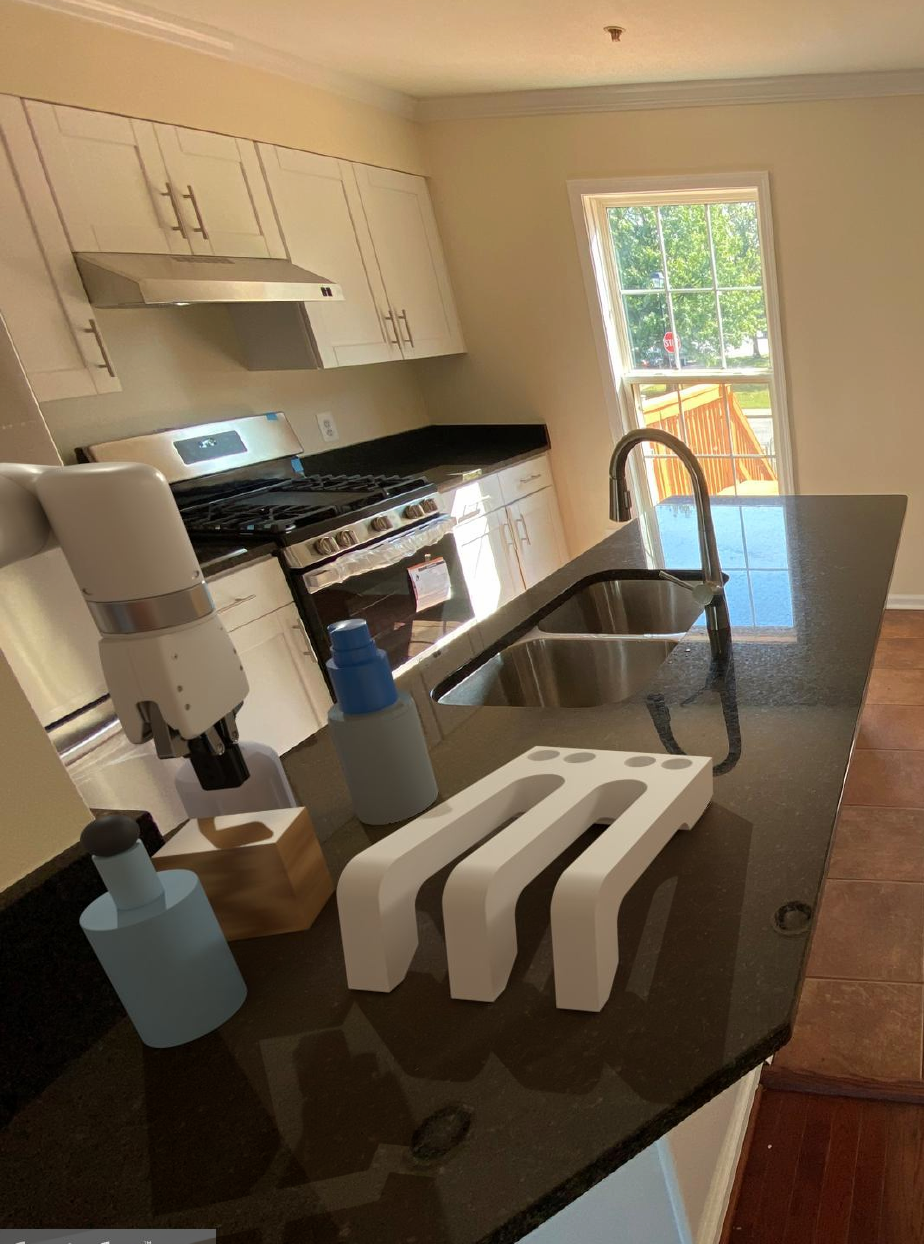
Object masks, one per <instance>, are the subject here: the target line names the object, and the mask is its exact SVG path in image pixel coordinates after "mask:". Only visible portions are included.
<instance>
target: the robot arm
mask: <svg viewBox="0 0 924 1244" xmlns="http://www.w3.org/2000/svg"><path fill="white" fill-rule="evenodd" d="M171 489H172V488H171V486H170V484H169V483H168V480H167V478H166V476H165V475H164V474H163V473H162V472H161V471H160V470H159V468H157V467H155V466H153V465H151V464H149V463H144V462H139V461H101V462H99V461H98V462H89V463H80V464H71V465H49V464H48V465H45V464H35V463H33V464H32V463H21V462H0V570H1V569H4V568H5V567H8V566H11V565H12V564H16V563H18V562H21V561H24V560H27V559H30V558H33V557H36V556H39V555H42V554H44V553H47V552H51V551H52V550H55V549H61V551H62V553H63V555H64V558H65V560H66V562H67V564H68V566H69V569H70V571H71V573H72V576H73V577H74V579H75V582H76V584H77V586H78V588H79V592H80V593H81V595H82V598H83V600H84V602H85V604H86V607H87V609H88V611H89V613H90V615H91V618H92V620H93V622H94V624H95V626H96V629H97V630H98V633H99V636H100V637H101V639H99V640H98V641H97V643H98V653H99V660H100V665H101V670H102V672H103V677H104V681H105V685H106V688H107V691H108V693H109V697H110V700H111V702H112V705H113V709H114V711H115V713H116V716H117V718H118V721H119V723H120V726H121V728H122V730H123V732H124V735H125V736H126V738H127V740H128V741H129V742H130V743H131V745H134V746H135V745H137V746H138V745H143V744H147V743H149V742H150V741H152V740H153V742H154V749H155V751H156V756H157V758H158V759H159V760H161V761H163V760H171V759H172V760H173V759H179V758H181V757H182V759H187V760H188V759H190V761H191V764H192V766H193V768H194V771H195V773H196V775H197V778H198V780H199V782H200V785H201V787H202V789H203V790H205V791H212V790H221V789H230V788H238V787H240V786H241V785H242V784H243V783H244V781H247V780H248V779H249V778H250V773H249V770H248V768H247V765H246V763H245V760H244V758H243V755H242V753H241V750H240V748H239V745H238V743H235V744H233V742H237V741H238V740H240V734H239V730H238V726H237V723H236V719H237V715H238V713H239V712H240V710H241V709H242V708H243V706H244V704H245V701H244V700H245V699H246V698H247V696H248V694H249V692H250V685H249V680H248V677H247V675H246V671H245V668H244V665H243V663H242V661H241V658H240V656H239V653H238V652H237V649H236V646H235V644H234V643H233V641H232V639H231V637H230V635H229V633H228V631H227V629H226V627H225V625H224V624H223V621H222V620H221V617H220V616H219V615H218V611H217V609H216V606H215V603H214V601H213V597H212V595H211V592H210V590H209V588H208V585H207V582H206V579H205V577H204V574H203V572H202V569H201V566H200V564H199V563H200V562H199V561H198V557H197V556H196V553H195V550H194V548H193V545H192V543H191V540H190V536H189V534H188V532H187V528H186V526H185V524H184V521H183V519H182V515H181V514H180V510H179V508H178V505H177V502H176V500H175V497H174V494H173V492H172V490H171Z"/></svg>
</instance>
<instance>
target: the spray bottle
mask: <svg viewBox="0 0 924 1244" xmlns="http://www.w3.org/2000/svg"><path fill="white" fill-rule="evenodd" d="M326 629H327V632H328V636H329V639H330V644H331V646H330V647H329V651H330V654H331V658H329V659H328V660H327V661H326V662H325V666H326V670H327V673H328V676H329V679H330V682H331V685H332V688H333V692H334V695H335V699H336V701H337V702H336V703H334V704H333V705H332V706H330V707H329V709H328V710H327V712H326V715H327V719H326V720H327V721H326V722H327V725H328V729H329V731H330V735H331V738H332V741H333V744H334V747H335V750H336V751H335V752H336V754H337V756H338V760H339V763H340V765H341V766H340V767H341V769H342V773H343V776H344V778H345V781H346V785H347V788H348V791H349V794H350V797H351V800H352V803H353V807H354V810H355V813H356V816H357V819H358V820H359V821H361V822H362V823H363V824H367V825H371V826H385V825H390V824H389V823H391V824H396V823H395V822H397V823H400V822H403V821H405V820H404V819H406V820H408V819H407V818H409V817H412V816H414V815H416V814H418V813H419V812H422V811H423V810H425V809H426V808H427V807H429V806H430V805H431V804H432V803H433V802H434V800H436V798H437V795H438V792H439V789H438V788H439V787H438V785H437V781H436V777H435V774H434V770H433V766H432V762H431V758H430V755H429V751H428V748H427V747H428V746H427V743H426V739H425V736H424V731H423V727H422V724H421V720H420V717H419V713H418V709H417V706H416V705H417V704H416V702H415V699H414V698H413V697H412V694H411V692H409V691H407V690H405V689H400V688H397V687H396V683H395V682H396V681H395V679H394V676H393V671H392V668H391V665H390V661H389V657H388V654H387V651H386V650H384V649H383V648H382V649H381V648H378V646H377V644H376V640H375V638H373V637H371V633H370V631H369V626H368V622H367V620H366V619H364V618H353V619H346V620H339V621H336V622H333V623H331V624H329V625H328V626H327V628H326ZM437 799H438V798H437ZM436 801H437V800H436ZM429 808H430V807H429ZM425 811H426V810H425ZM422 813H423V812H422ZM418 815H419V814H418ZM416 816H417V815H416ZM414 817H415V816H414ZM412 818H413V817H412ZM402 820H403V821H402ZM399 821H400V822H399Z"/></svg>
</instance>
